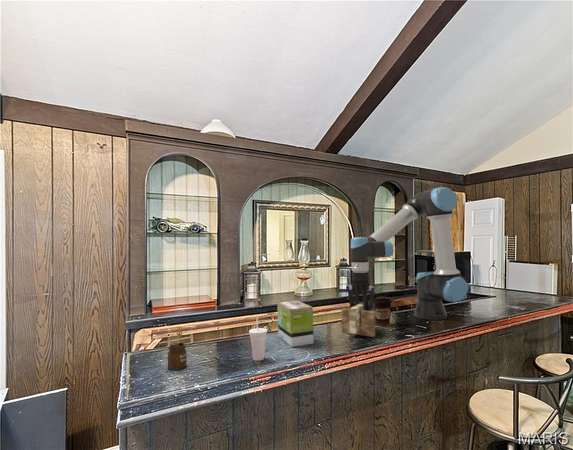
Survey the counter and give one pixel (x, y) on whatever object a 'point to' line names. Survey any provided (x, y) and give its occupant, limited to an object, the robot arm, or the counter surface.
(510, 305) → the counter surface
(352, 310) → the maple plate
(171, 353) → the utensil holder
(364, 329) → the walnut board
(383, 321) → the coffee cup
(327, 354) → the counter surface
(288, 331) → the tea box
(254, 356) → the smoothie
